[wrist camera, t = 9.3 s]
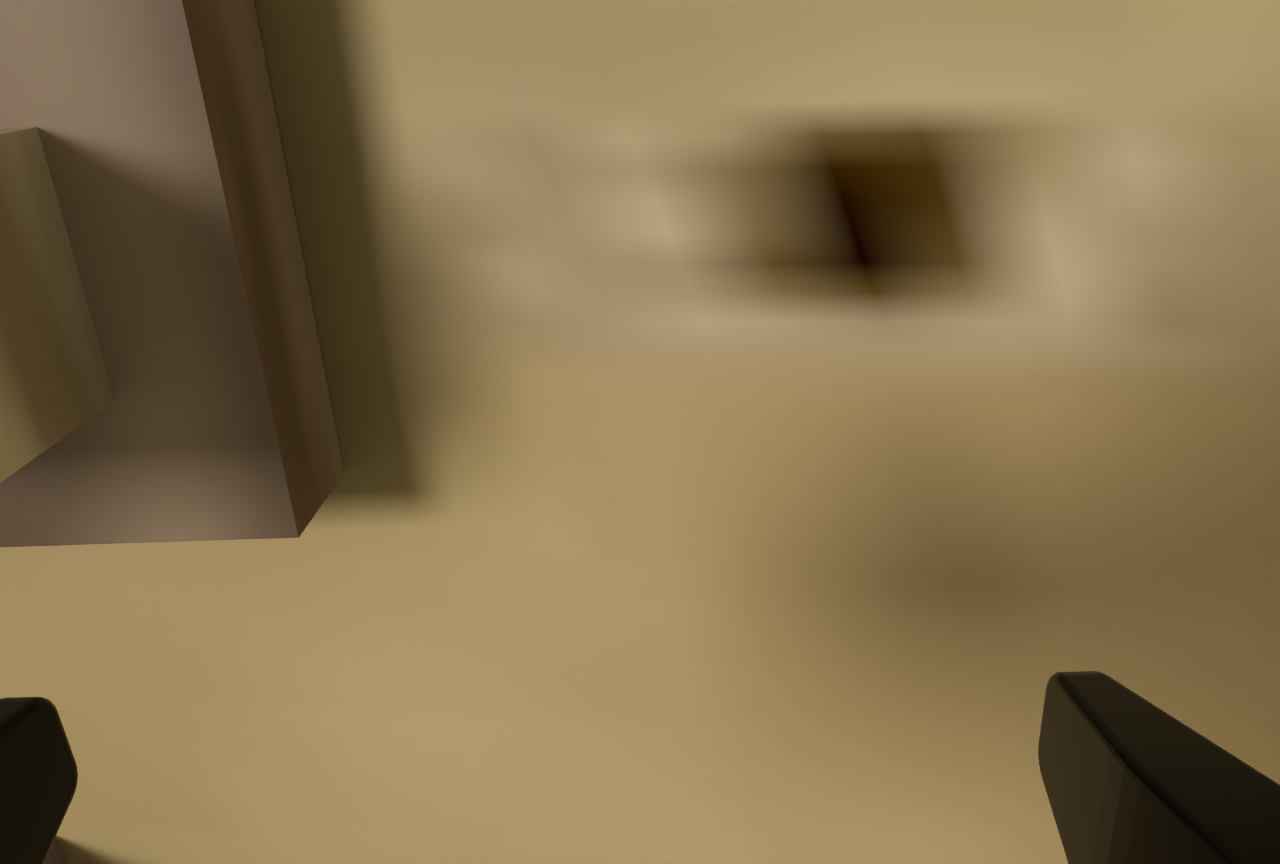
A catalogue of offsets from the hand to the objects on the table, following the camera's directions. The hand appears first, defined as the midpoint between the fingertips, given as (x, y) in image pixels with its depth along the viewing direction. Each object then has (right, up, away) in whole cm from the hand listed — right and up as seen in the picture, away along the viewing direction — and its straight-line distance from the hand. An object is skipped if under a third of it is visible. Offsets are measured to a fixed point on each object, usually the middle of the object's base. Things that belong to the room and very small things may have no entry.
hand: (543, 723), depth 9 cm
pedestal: (-12, +7, +12) cm, 18 cm away
